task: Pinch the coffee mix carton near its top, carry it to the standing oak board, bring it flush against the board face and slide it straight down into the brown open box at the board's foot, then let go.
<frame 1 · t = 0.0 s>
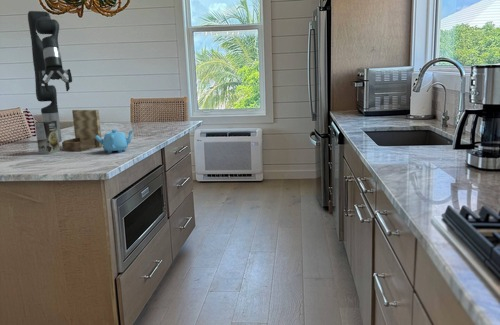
hand: (57, 91, 207), 31 cm above the countertop, tool tilted 20°, fingers open, 8 cm apart
brown open box: (80, 148, 234), on the countertop
teapot: (116, 151, 223), on the countertop
coffee box: (49, 152, 225), on the countertop
wall board: (89, 146, 239), on the countertop
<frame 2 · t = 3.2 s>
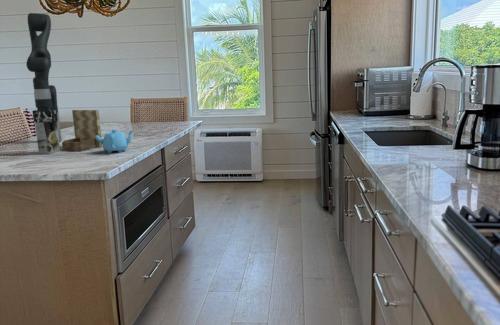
hand: (47, 130, 223), 11 cm above the countertop, tool pointing down, fingers closed on coffee box, 7 cm apart
coffee box: (49, 152, 225), on the countertop, touching gripper
everything else where it was.
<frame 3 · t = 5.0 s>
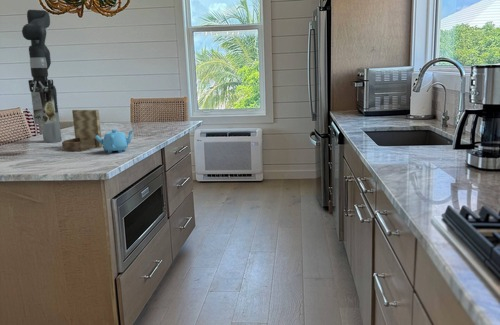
hand: (43, 100, 220), 27 cm above the countertop, tool pointing down, fingers closed on coffee box, 7 cm apart
coffee box: (46, 123, 222), point 15 cm above the countertop, touching gripper
everything else where it was.
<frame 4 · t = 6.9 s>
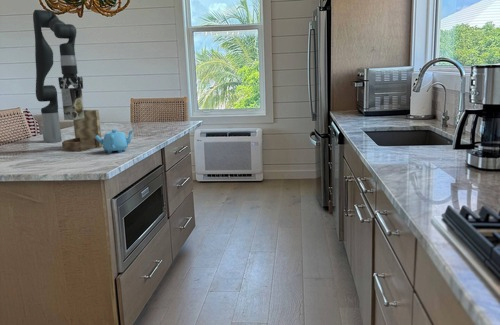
hand: (72, 97, 226), 27 cm above the countertop, tool pointing down, fingers closed on coffee box, 7 cm apart
coffee box: (74, 119, 229), point 16 cm above the countertop, touching gripper
everything else where it was.
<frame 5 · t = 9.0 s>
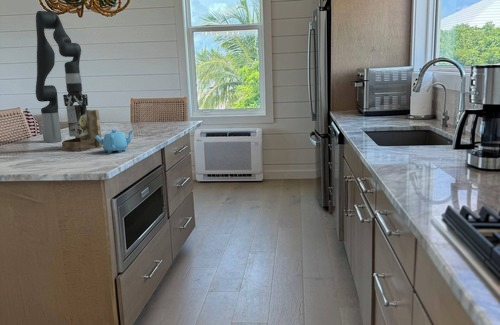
hand: (77, 114, 230), 18 cm above the countertop, tool pointing down, fingers closed on coffee box, 7 cm apart
coffee box: (79, 135, 232), point 7 cm above the countertop, touching gripper
everything else where it was.
when the fingers open (15 cm above the countertop, at t = 10.7 s): coffee box stays where it is, resting on brown open box.
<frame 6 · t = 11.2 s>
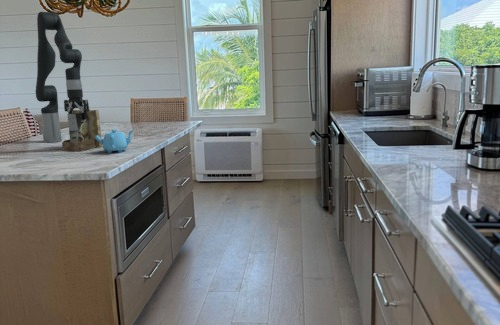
hand: (77, 119, 231), 16 cm above the countertop, tool pointing down, fingers open, 8 cm apart
coffee box: (80, 143, 233), point 3 cm above the countertop, touching brown open box
everything else where it was.
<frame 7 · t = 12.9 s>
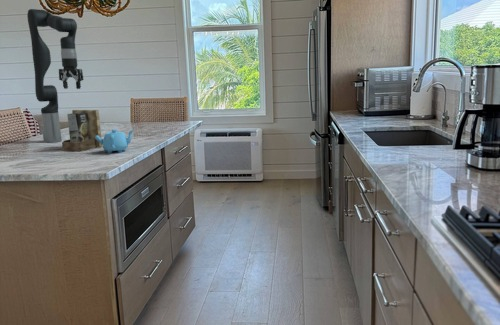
hand: (72, 88, 234), 32 cm above the countertop, tool pointing down, fingers open, 8 cm apart
nothing on the countertop moved.
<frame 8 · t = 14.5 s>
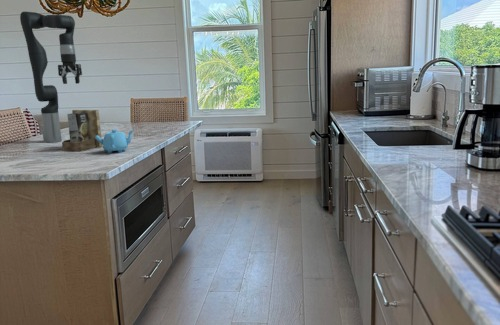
hand: (71, 83, 241), 34 cm above the countertop, tool pointing down, fingers open, 8 cm apart
nothing on the countertop moved.
at the end: coffee box inside the target area (0.4 cm from its centre), point 2.8 cm above the countertop; coffee box tilted 0°; the gripper is holding nothing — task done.
